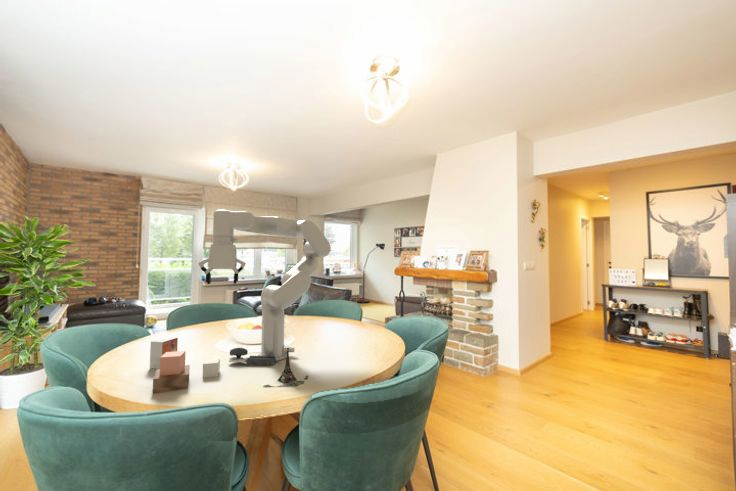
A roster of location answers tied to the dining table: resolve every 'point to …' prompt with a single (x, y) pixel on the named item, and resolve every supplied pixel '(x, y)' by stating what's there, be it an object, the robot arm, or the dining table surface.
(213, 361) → the pale grey cube
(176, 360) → the terracotta cube
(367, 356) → the dining table surface
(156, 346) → the small box
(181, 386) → the walnut base block
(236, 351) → the can opener
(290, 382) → the eiffel tower figurine
